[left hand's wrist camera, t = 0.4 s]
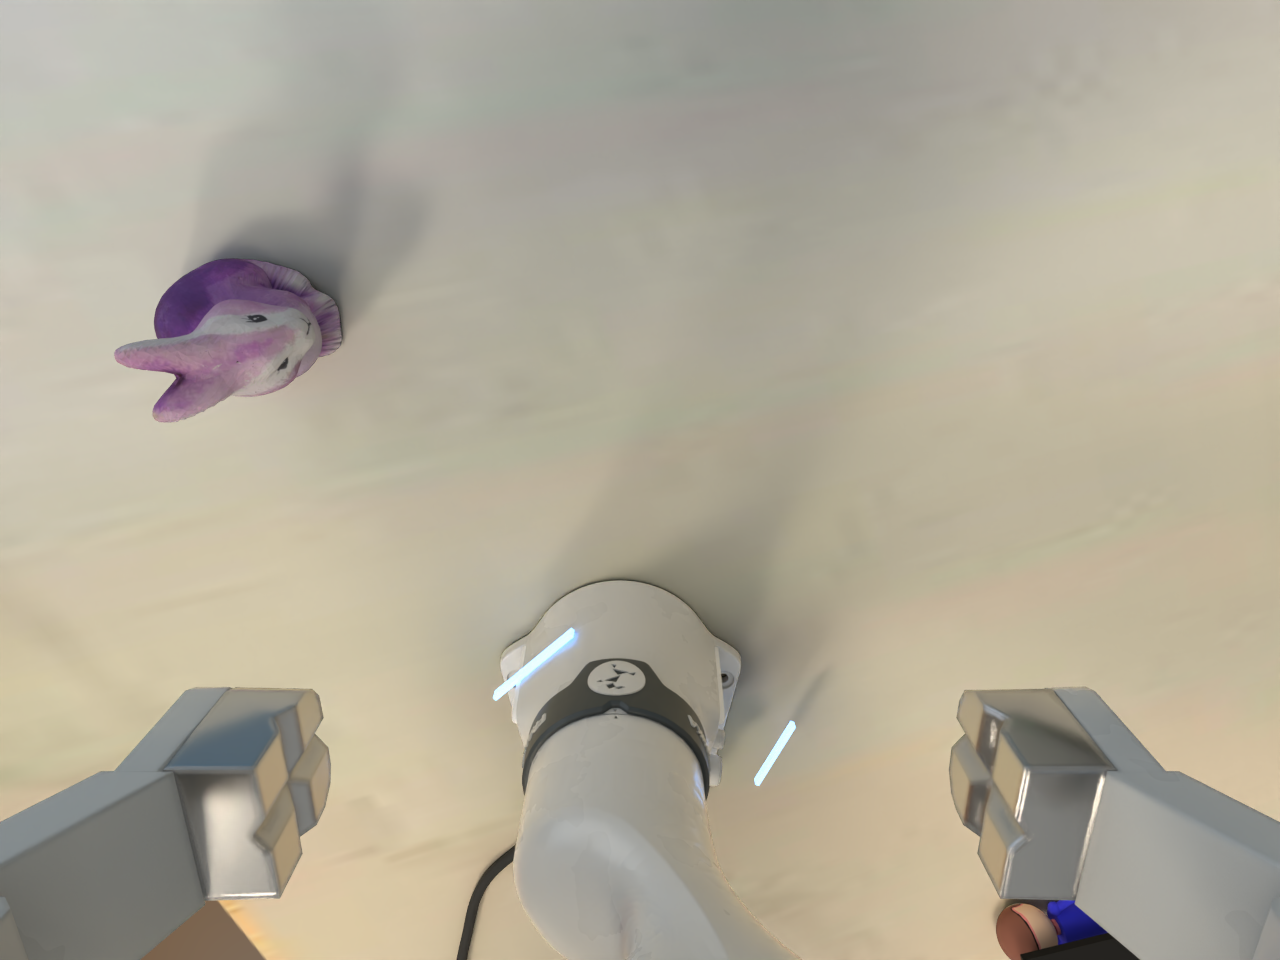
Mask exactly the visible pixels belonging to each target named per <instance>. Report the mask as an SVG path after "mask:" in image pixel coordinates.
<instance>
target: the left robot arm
mask: <svg viewBox="0 0 1280 960" xmlns="http://www.w3.org/2000/svg"><path fill="white" fill-rule="evenodd" d="M500 669H501V673H502V676H503V679H504V684H503V685H501V686H500V687H499V688H498V689H497V690H495V693H494V696H493V699H495V700H497V699H499V698H500V697H501V696H502V695H504V694H505V693H506V692H507V693H508V696H509V700H510V703H511V706H512V721H513V722H514V723H516V724H517V726H518V730H519V734H520V737H521V740H522V743H523V746H524V755H523V764H522V768H523V775H522V785H523V791H524V795H525V798H524V803H523V809H522V814H521V820H520V825H519V830H518V836H517V841H516V845H515V846H514V847H513V848H512V849H510V850H509V851H508V852H507V853H506V854H504V855H503V856H502V857H501V858H499V859H498V860H497V861H496V862H495V863H494V864H493V865H492V866H491V867H490V868H489V869H488V870H487V871H486V872H485V873H484V875H483V876H482V878H481V879H480V881H479V882H478V884H477V886H476V888H475V890H474V892H473V894H472V897H471V900H470V902H469V906H468V909H467V913H466V918H465V923H464V928H463V933H462V937H461V942H460V946H459V950H458V955H457V960H466V959H467V954H468V949H469V945H470V941H471V937H472V932H473V927H474V923H475V918H476V913H477V909H478V906H479V903H480V900H481V898H482V896H483V894H484V892H485V890H486V888H487V887H488V885H489V884H490V882H491V881H492V880H493V879H494V877H495V876H496V875H497V874H498V873H499V872H500V871H502V870H503V869H504V868H505V867H506V866H507V865H509V864H510V863H511V862H512V861H513V875H514V883H515V888H516V891H517V895H518V898H519V900H520V903H521V905H522V907H523V909H524V911H525V913H526V914H527V916H528V918H529V919H530V921H531V922H532V924H533V925H534V927H535V928H536V930H537V931H538V932H539V934H540V935H541V936H542V938H543V939H544V940H545V941H546V942H547V943H548V944H549V945H550V946H551V948H553V949H554V950H555V951H556V952H558V953H559V954H560V955H562V956H563V957H565V958H566V959H568V960H802V959H801V958H800V957H798V956H797V955H796V954H794V953H793V952H792V951H791V950H789V949H788V948H787V947H785V946H784V945H783V944H782V943H781V942H780V941H778V940H777V939H776V938H775V937H774V936H773V935H772V934H771V933H769V932H768V931H767V930H766V929H765V928H764V927H763V925H762V924H761V923H760V922H759V921H758V920H757V919H756V918H755V917H754V916H753V915H752V914H751V913H750V911H749V910H748V909H747V908H746V907H745V906H744V904H743V903H742V902H741V901H740V899H739V898H738V897H737V895H736V894H735V893H734V891H733V890H732V888H731V887H730V885H729V883H728V882H727V880H726V879H725V877H724V875H723V873H722V871H721V869H720V866H719V864H718V861H717V857H716V854H715V850H714V845H713V841H712V836H711V831H710V825H709V820H708V814H707V807H706V799H707V796H708V791H709V786H713V787H716V786H718V785H719V783H720V780H721V774H722V758H721V756H719V755H716V754H717V751H718V749H723V747H724V743H725V731H724V726H725V723H726V719H727V716H728V713H729V709H730V706H731V702H732V699H733V695H734V692H735V688H736V685H737V681H738V678H739V674H740V671H741V657H740V654H739V653H738V652H737V651H736V650H735V649H734V648H733V647H731V646H730V645H729V644H727V643H725V642H724V641H722V640H720V639H718V638H717V637H715V636H713V635H712V634H711V633H710V632H709V631H708V630H707V628H706V627H705V626H704V624H703V623H702V621H701V620H700V619H699V617H698V616H697V615H696V614H695V612H694V611H693V610H692V609H691V608H690V607H689V606H688V605H687V604H685V603H684V602H683V601H682V600H680V599H679V598H678V597H676V596H674V595H673V594H671V593H669V592H667V591H665V590H663V589H661V588H658V587H656V586H653V585H649V584H645V583H641V582H635V581H623V580H617V581H605V582H599V583H595V584H591V585H587V586H585V587H582V588H579V589H577V590H575V591H573V592H571V593H569V594H567V595H566V596H564V597H563V598H561V599H560V600H559V601H557V602H556V603H555V604H554V605H553V606H552V607H551V608H550V609H549V610H548V611H547V612H546V613H545V614H544V616H543V617H542V618H541V620H540V621H539V623H538V624H537V625H536V627H535V628H534V629H533V630H532V632H531V633H530V634H529V635H527V636H525V637H524V638H522V639H520V640H518V641H517V642H515V643H513V644H512V645H510V646H509V647H508V648H506V649H505V650H504V651H503V653H502V655H501V659H500ZM721 674H726V675H727V676H725V677H723V678H721ZM322 719H323V713H322V708H321V703H320V698H319V695H318V694H317V693H316V692H315V691H314V690H312V689H288V688H241V687H236V688H230V687H196V688H193V689H189V690H186V691H185V692H184V693H183V694H182V695H181V696H180V697H179V699H178V700H177V701H176V702H175V703H174V704H173V705H172V706H171V708H170V709H169V710H168V711H167V712H166V713H165V714H164V715H163V717H162V718H161V719H160V720H159V721H158V722H157V723H156V724H155V726H154V727H153V728H152V729H151V730H150V731H149V732H148V733H147V735H146V736H145V737H144V738H143V739H142V740H141V741H140V742H139V744H138V745H137V746H136V747H135V748H134V749H133V750H132V751H131V753H130V754H129V755H128V756H127V757H126V758H125V759H124V761H123V762H122V763H121V764H120V765H119V766H118V767H117V768H116V770H115V771H101V772H99V773H97V774H95V775H93V776H91V777H89V778H87V779H85V780H83V781H81V782H79V783H77V784H75V785H73V786H71V787H69V788H67V789H65V790H63V791H61V792H59V793H57V794H55V795H53V796H51V797H49V798H47V799H45V800H43V801H41V802H39V803H37V804H35V805H33V806H31V807H29V808H27V809H25V810H23V811H21V812H19V813H17V814H15V815H13V816H11V817H9V818H7V819H5V820H4V821H2V822H0V960H140V959H141V958H143V957H144V956H145V955H146V954H147V953H149V952H150V951H151V950H152V949H153V948H154V947H156V946H157V945H158V944H159V943H160V942H162V941H163V940H164V939H165V938H166V937H168V936H169V935H170V934H171V933H172V932H173V931H175V930H176V929H177V928H178V927H179V926H180V925H182V924H183V923H184V922H185V921H186V920H188V919H189V918H190V917H191V916H192V915H194V914H195V913H196V912H197V911H198V910H199V909H201V908H202V907H203V906H204V905H205V901H208V900H243V899H278V898H280V897H281V895H282V893H283V891H284V889H285V887H286V885H287V883H288V881H289V879H290V877H291V875H292V873H293V871H294V869H295V867H296V865H297V863H298V861H299V859H300V857H301V855H302V848H301V842H300V836H302V835H303V834H304V833H306V832H307V831H309V830H310V829H311V828H313V827H314V826H316V825H317V823H318V821H319V819H320V816H321V814H322V812H323V810H324V808H325V805H326V800H327V796H328V791H329V787H330V774H331V763H330V756H329V749H328V747H327V746H326V745H325V744H324V743H323V741H322V740H321V739H320V738H319V737H318V736H317V735H316V734H315V732H316V730H317V728H318V727H319V725H320V723H321V721H322ZM957 719H958V721H959V723H960V725H961V727H962V728H963V730H964V732H965V734H964V735H963V736H962V737H961V738H960V739H959V740H958V741H957V743H956V744H955V745H954V746H953V747H952V749H951V758H950V766H949V775H950V786H951V794H952V797H953V801H954V804H955V808H956V810H957V812H958V814H959V817H960V819H961V821H962V823H963V825H964V826H966V827H967V828H969V829H970V830H971V831H973V832H974V833H976V834H977V835H978V836H980V842H979V848H978V855H979V857H980V859H981V861H982V863H983V865H984V867H985V869H986V871H987V873H988V875H989V877H990V879H991V881H992V883H993V885H994V887H995V889H996V891H997V893H998V895H999V897H1000V899H1035V900H1071V901H1075V905H1076V906H1077V907H1079V908H1080V909H1081V910H1082V911H1083V912H1084V913H1086V914H1087V915H1088V916H1089V917H1090V918H1092V919H1093V920H1094V921H1095V922H1096V923H1097V924H1099V925H1100V926H1101V927H1102V928H1103V929H1105V930H1106V931H1107V932H1108V933H1109V934H1110V935H1112V936H1113V937H1114V938H1115V939H1116V940H1118V941H1119V942H1120V943H1121V944H1122V945H1123V946H1125V947H1126V948H1127V949H1128V950H1129V951H1131V952H1132V953H1133V954H1134V955H1135V956H1136V957H1138V958H1139V959H1140V960H1280V822H1278V821H1276V820H1274V819H1272V818H1270V817H1268V816H1266V815H1264V814H1262V813H1260V812H1258V811H1256V810H1254V809H1252V808H1251V807H1249V806H1247V805H1245V804H1243V803H1241V802H1239V801H1237V800H1235V799H1233V798H1231V797H1229V796H1227V795H1225V794H1223V793H1221V792H1219V791H1217V790H1215V789H1213V788H1211V787H1209V786H1207V785H1205V784H1203V783H1201V782H1199V781H1197V780H1195V779H1193V778H1191V777H1189V776H1187V775H1185V774H1183V773H1181V772H1179V771H1165V770H1164V768H1163V767H1162V766H1161V765H1160V764H1159V763H1158V762H1157V761H1156V759H1155V758H1154V757H1153V756H1152V755H1151V754H1150V753H1149V752H1148V750H1147V749H1146V748H1145V747H1144V746H1143V745H1142V744H1141V742H1140V741H1139V740H1138V739H1137V738H1136V737H1135V736H1134V735H1133V733H1132V732H1131V731H1130V730H1129V729H1128V728H1127V727H1126V726H1125V724H1124V723H1123V722H1122V721H1121V720H1120V719H1119V718H1118V717H1117V715H1116V714H1115V713H1114V712H1113V711H1112V710H1111V709H1110V708H1109V706H1108V705H1107V704H1106V703H1105V702H1104V701H1103V700H1102V699H1101V697H1100V696H1099V695H1098V694H1097V693H1096V692H1095V691H1093V690H1091V689H1089V688H1087V687H1060V688H1045V689H1002V690H965V691H964V693H963V695H962V697H961V699H960V701H959V707H958V712H957ZM795 728H796V727H795V723H794V722H793V721H790V723H789V724H788V726H787V727H786V729H785V731H784V732H783V734H782V735H781V737H780V739H779V740H778V742H777V743H776V745H775V747H774V748H773V750H772V751H771V753H770V755H769V756H768V758H767V759H766V761H765V763H764V764H763V766H762V767H761V769H760V771H759V772H758V774H757V775H756V777H755V779H754V780H755V785H758V786H759V785H760V783H761V782H762V780H763V779H764V777H765V775H766V774H767V772H768V771H769V769H770V768H771V766H772V764H773V763H774V761H775V760H776V758H777V756H778V755H779V753H780V752H781V750H782V748H783V747H784V745H785V744H786V742H787V741H788V739H789V737H790V736H791V734H792V733H793V731H794V729H795Z"/></svg>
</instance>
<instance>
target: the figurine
mask: <svg viewBox="0 0 1280 960" xmlns="http://www.w3.org/2000/svg"><path fill="white" fill-rule="evenodd" d="M339 318H340V316H339V311H338V307H337V306H336V303H335V301H334V300H333V299H332V298H331V297H330V296H328V295H326V294H324V293H322V292H320V291H317V290H315V289H314V288H313V287H312V286H311V284H310V281H309V280H308V279H307V278H306V277H305V276H303V275H302V274H301V273H300V272H298V271H295V270H292V269H289V268H286V267H283V266H281V265H275V264H272V263H269V262H262V261H258V260H250V259H220V260H215V261H212V262H209V263H206V264H204V265H202V266H200V267H199V268H197V269H195V270H193V271H191V272H190V273H188V274H186V275H185V276H183V277H182V278H180V279H179V280H178V281H176V282H175V283H174V284H173V285H172V286H171V287H170V288H169V289H168V290H167V291H166V292H165V293H164V295H163V296H162V297H161V299H160V301H159V303H158V306H157V308H156V312H155V317H154V327H155V332H156V336H157V338H158V339H154V340H145V341H139V342H135V343H130V344H127V345H124V346H122V347H120V348H118V349H117V350H116V351H115V353H114V356H115V359H116V361H117V362H118V363H120V364H122V365H124V366H126V367H129V368H135V369H142V370H150V371H160V372H168V373H171V374H174V375H175V376H176V380H175V381H174V382H173V383H172V385H171V386H170V387H169V388H168V389H167V390H166V392H165V393H164V394H163V395H162V396H161V398H160V399H159V400H158V402H157V403H156V404H155V406H154V408H153V417H154V419H155V420H156V421H159V422H175V421H176V422H177V421H179V420H183V419H186V418H189V417H192V416H195V415H196V414H197V413H200V412H204V411H205V410H206V409H208V408H210V407H212V406H215V405H216V404H217V403H218V402H220V401H223V400H225V399H226V398H227V397H229V396H230V395H232V396H250V397H252V396H259V395H265V394H268V393H272V392H275V391H277V390H279V389H282V388H284V387H285V386H287V385H288V384H289V383H291V382H292V381H293V380H294V379H295V378H296V377H298V376H300V375H302V374H303V373H305V372H306V371H307V370H309V368H310V367H311V366H312V365H313V364H314V363H315V361H316V360H317V358H318V357H322V356H325V355H329V354H331V353H333V352H334V351H335V350H337V349H338V348H339V347H340V345H341V341H342V339H341V338H342V336H341V331H340V330H341V328H340V325H341V324H340V323H339V322H340V319H339Z"/></svg>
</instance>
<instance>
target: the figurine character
mask: <svg viewBox="0 0 1280 960" xmlns="http://www.w3.org/2000/svg"><path fill="white" fill-rule="evenodd" d="M1047 907H1048V909H1047V914H1048V916H1047V915H1046V914H1045V913H1044V912H1042V911H1041V910H1040V909H1038V908H1036V907H1034V906H1032V905H1029V904H1024V903H1017V904H1013V905H1010V906H1008V907H1007V908H1005V909H1004V910H1003V911H1002V912H1001V914H1000V915H999V917H998V920H997V925H996V934H997V938H998V942H999V944H1000V946H1001V948H1002V950H1003V951H1004V952H1005V954H1006V955H1007V956H1008V957H1009V958H1010V959H1011V960H1140V959H1139V958H1138V957H1136V956H1135V955H1134V954H1133V953H1132V952H1131V951H1129V950H1128V949H1127V948H1126V947H1125V946H1123V945H1122V944H1121V943H1120V942H1119V941H1118V940H1116V939H1115V938H1114V937H1113V936H1112V935H1110V934H1109V933H1108V932H1107V931H1106V930H1105V929H1103V928H1102V927H1101V926H1100V925H1099V924H1097V923H1096V922H1095V921H1094V920H1093V919H1092V918H1090V917H1089V916H1088V915H1087V914H1086V913H1084V912H1083V911H1082V910H1081V909H1080V908H1079V907H1077V906H1076V905H1075V901H1071V900H1059V901H1057V902H1054V901H1051V902H1049V903H1048V906H1047Z"/></svg>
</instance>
